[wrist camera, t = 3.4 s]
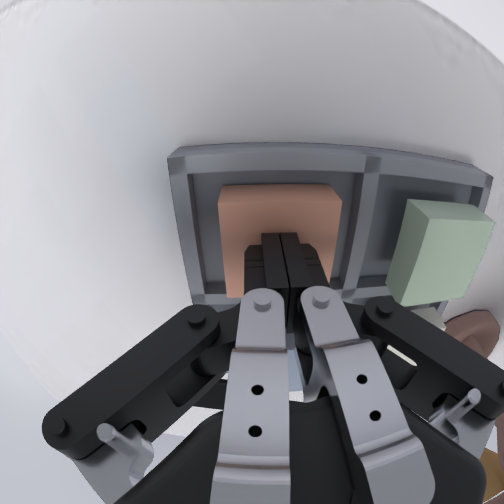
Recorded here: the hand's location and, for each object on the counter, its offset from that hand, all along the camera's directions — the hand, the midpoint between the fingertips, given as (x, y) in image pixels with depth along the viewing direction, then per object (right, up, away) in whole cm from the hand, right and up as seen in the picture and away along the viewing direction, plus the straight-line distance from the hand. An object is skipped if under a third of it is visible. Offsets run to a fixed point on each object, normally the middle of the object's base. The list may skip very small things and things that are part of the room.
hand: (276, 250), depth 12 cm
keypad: (+4, -1, +5) cm, 7 cm away
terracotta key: (0, +1, +2) cm, 2 cm away
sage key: (+9, 0, +1) cm, 9 cm away
